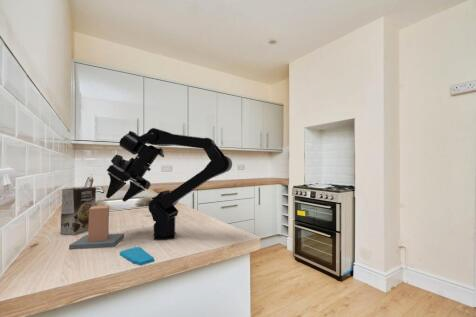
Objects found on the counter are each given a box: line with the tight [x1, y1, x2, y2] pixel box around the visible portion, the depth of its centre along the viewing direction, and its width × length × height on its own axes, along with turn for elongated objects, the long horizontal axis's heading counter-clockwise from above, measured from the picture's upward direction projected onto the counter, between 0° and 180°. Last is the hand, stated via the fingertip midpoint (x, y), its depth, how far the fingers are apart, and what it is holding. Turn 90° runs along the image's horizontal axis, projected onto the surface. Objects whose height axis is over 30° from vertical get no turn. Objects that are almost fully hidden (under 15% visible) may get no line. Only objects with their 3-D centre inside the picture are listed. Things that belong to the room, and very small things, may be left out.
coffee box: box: [59, 186, 97, 236], centre depth 86 cm, size 9×6×16 cm
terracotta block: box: [87, 205, 110, 242], centre depth 73 cm, size 5×5×10 cm
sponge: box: [119, 246, 156, 267], centre depth 61 cm, size 2×12×6 cm
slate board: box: [68, 232, 125, 250], centre depth 73 cm, size 12×10×1 cm
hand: (115, 199), depth 77 cm, fingers open, 9 cm apart
